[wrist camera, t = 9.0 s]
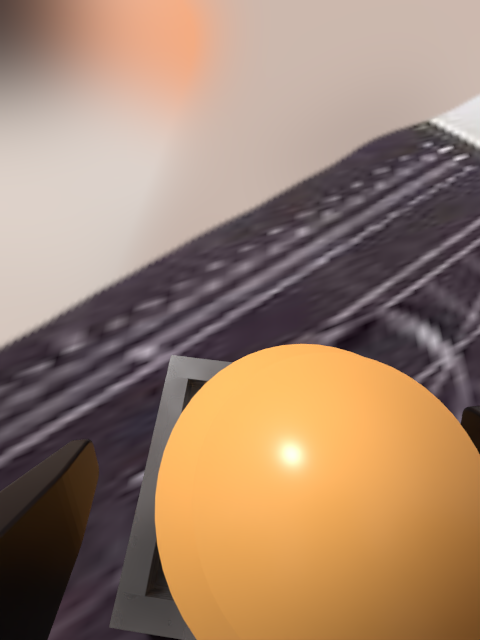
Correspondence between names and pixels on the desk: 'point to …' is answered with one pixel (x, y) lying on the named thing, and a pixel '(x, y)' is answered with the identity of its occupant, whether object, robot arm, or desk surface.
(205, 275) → the desk surface
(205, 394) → the orange game pawn
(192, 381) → the gray square tray
